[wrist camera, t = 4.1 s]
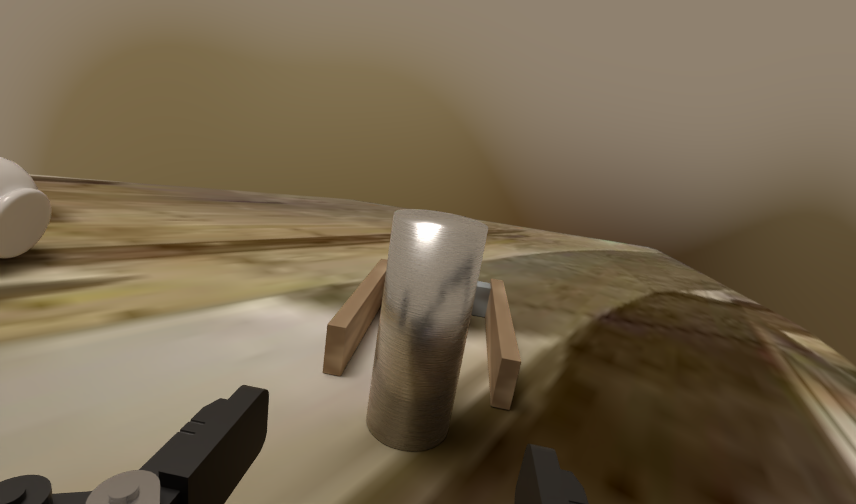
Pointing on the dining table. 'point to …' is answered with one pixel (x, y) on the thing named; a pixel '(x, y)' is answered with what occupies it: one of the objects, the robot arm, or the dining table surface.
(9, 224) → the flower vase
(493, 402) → the channel
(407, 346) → the shaft
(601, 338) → the dining table surface
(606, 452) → the dining table surface
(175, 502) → the robot arm
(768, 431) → the dining table surface
